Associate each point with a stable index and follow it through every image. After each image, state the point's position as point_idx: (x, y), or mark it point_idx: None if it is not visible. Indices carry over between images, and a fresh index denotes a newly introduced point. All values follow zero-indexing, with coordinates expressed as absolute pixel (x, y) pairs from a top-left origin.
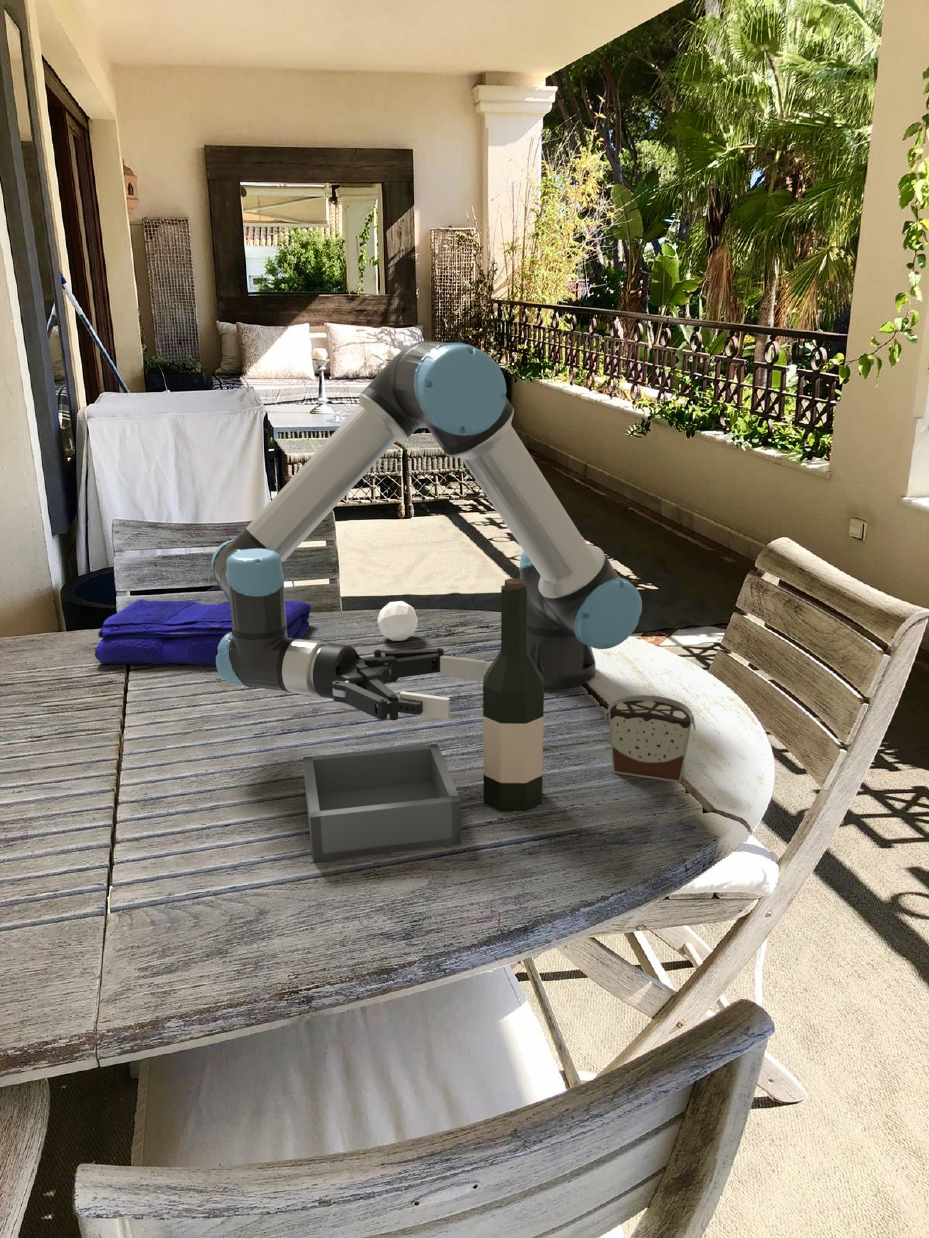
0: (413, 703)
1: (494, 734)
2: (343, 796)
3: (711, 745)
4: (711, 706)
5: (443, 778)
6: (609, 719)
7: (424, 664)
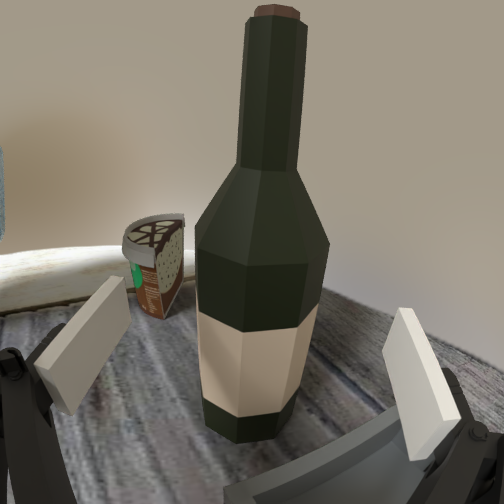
0: (455, 380)
1: (306, 333)
2: None
3: (113, 263)
4: (44, 258)
5: (370, 435)
6: (155, 264)
7: (47, 439)
